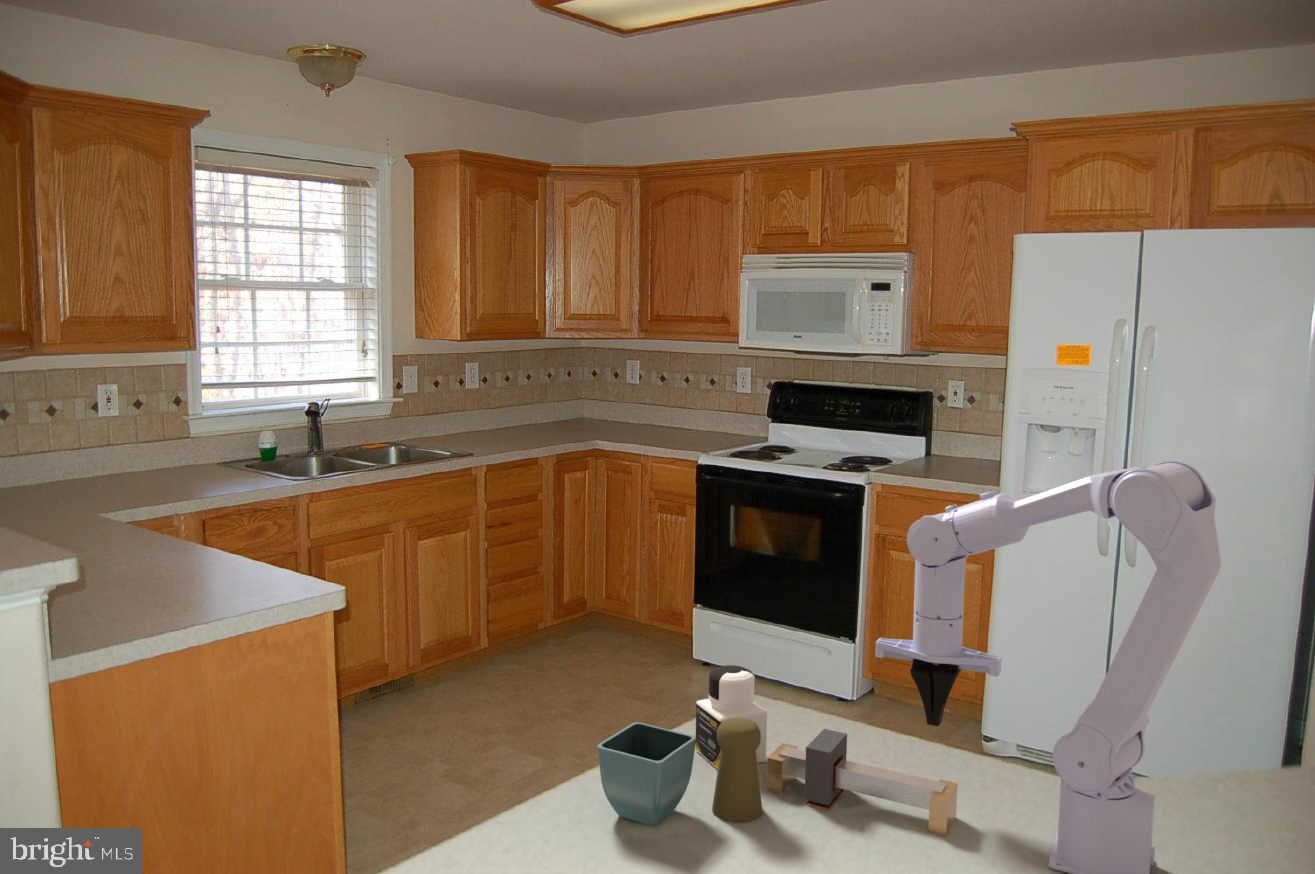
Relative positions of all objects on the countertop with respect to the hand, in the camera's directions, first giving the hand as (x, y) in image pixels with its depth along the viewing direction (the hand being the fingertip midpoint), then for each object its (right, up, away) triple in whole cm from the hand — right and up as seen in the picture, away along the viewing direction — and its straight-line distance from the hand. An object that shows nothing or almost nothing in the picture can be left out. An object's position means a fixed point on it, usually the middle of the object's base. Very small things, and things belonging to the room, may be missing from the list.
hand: (934, 722), depth 118 cm
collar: (-13, -10, +2) cm, 16 cm away
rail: (-9, -10, 0) cm, 13 cm away
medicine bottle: (-24, -8, +13) cm, 28 cm away
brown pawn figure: (-24, -10, -2) cm, 26 cm away
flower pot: (-35, -10, -3) cm, 36 cm away
